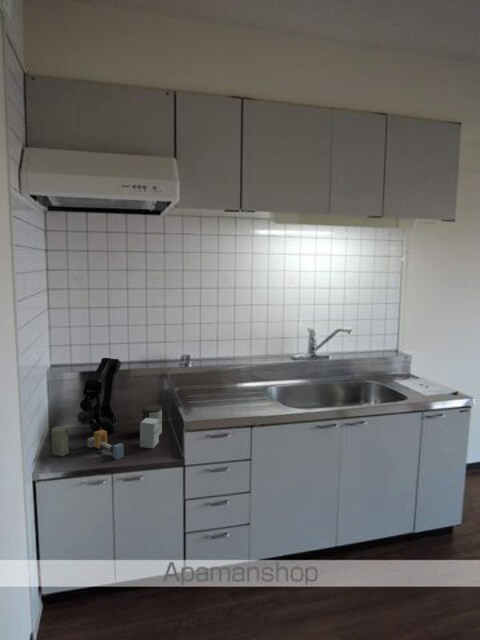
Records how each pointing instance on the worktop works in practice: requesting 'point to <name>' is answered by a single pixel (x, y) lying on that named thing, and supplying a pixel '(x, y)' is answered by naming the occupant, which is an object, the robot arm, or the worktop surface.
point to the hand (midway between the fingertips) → (94, 434)
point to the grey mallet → (115, 449)
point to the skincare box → (60, 441)
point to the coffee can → (153, 413)
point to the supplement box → (149, 432)
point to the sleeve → (97, 438)
